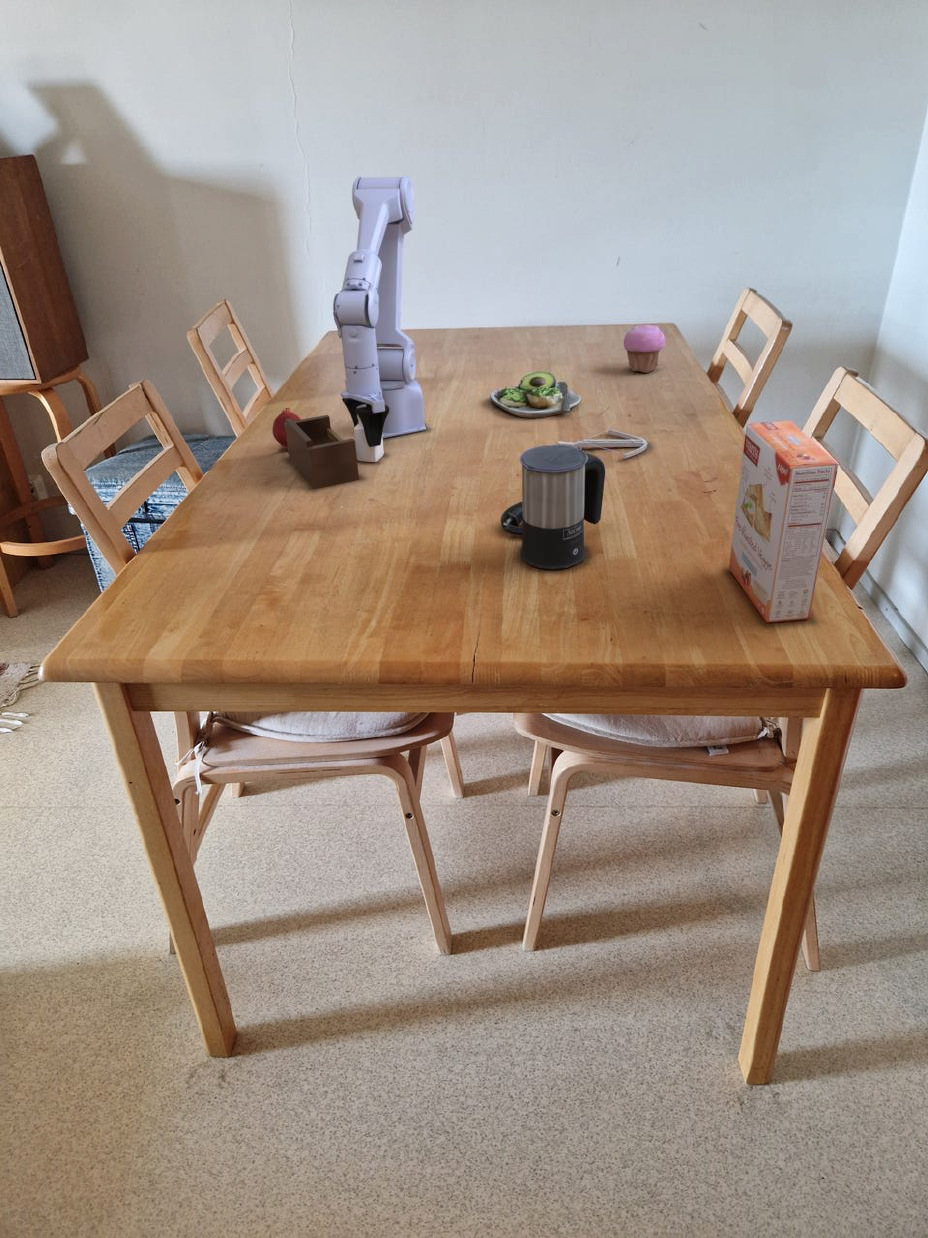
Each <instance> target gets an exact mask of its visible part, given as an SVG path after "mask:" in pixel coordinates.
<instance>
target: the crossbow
mask: <svg viewBox="0 0 928 1238" xmlns="http://www.w3.org/2000/svg"><path fill="white" fill-rule="evenodd" d="M605 432H607V434H609V435H612V436H616V437H621V438H624V439H593V437H597V436H599V435H601V434H604V433H605ZM557 445H565V446H570V447H575V448H578V449H580V450H584V448H587V447H588V448H594V447H595V448H596V447H597V448H600V449H604V450H606V451H607V450H608V451H610V452H614V453H617V454H620V455H623V456H622V459H623V460H626V459H628V458H630V457H634V456H636V455H639V454H640V453H642V452H643V451H646V449H647V448H648V442H647V440H646V439H643V438H642V437H639V436H636V435H633V434H629V433H626V432H622V431H617V430H614V429H611V428H609V429H607V430H604V431H603V432H600V433H598V434H595V435H593V436H590V437H589V438H584V439H580V440H576V441H574V442H571V441H561V440H560V441H559V440H557ZM626 447H627V448H636V449H634V450H632V451H630V452H627V453H622V452H618V451H616V450H612V449H609V448H626Z"/></svg>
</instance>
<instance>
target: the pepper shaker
mask: <svg viewBox="0 0 928 1238" xmlns="http://www.w3.org/2000/svg"><path fill="white" fill-rule="evenodd" d="M362 407H366V404H365V405H360V406H358V407H357V408H362ZM357 418H358V423H359V424H357V425H356V426H355V427H354V428H353V432H354V433H353V435H354V440H355V445H356V454H357V461H359V462H367V463H376V462H378V461H379V460H380V459H381V458H383V457H384V454H385V451H384V441H383V440H384V438H382V439H381V445H379V446H374V447H369V446H368V444H367V441H366V437H365V432H364V428H363V425H362V422H361V420H360V418H359V416H358V414H357Z"/></svg>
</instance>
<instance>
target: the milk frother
mask: <svg viewBox="0 0 928 1238" xmlns="http://www.w3.org/2000/svg"><path fill="white" fill-rule="evenodd" d="M519 462H520V464H521V501H519V502H517V503H515V504H513V505H511V506H509V507H508V508H506V509H505V510H504V511H503V512H502V514H501V516H500V525H501V528H502V529H503V530H504V531H505V532H507V533H509V534H510V535H514V536H521V549H520V551H519V552H520V553H519V555H520V558H521V559H522V560H523V562H525V563H526V564H528V565H530V566H532V567H534V568H537V569H544V570H563V569H567V568H568V569H569V568H571V567H574V566H577V565H578V564H580V563H582V561H583V560H584V559H585V558H586V548H585V522H587V523H589V524H592V525H597V524H599V523H600V522H601V519H602V518H601V517H602V508H603V500H604V491H605V481H606V480H605V479H606V467H605V463H604V462H603V461H602V459H601V458H600V457H598V456H596V455H594V454H592V453H589V452H585V450H583V449H581V450H580V449H579V447H578V448H575V447H570V446H565V445H558V444H548V445H539V446H535V447H531V448H529V449H527V450H525V451H523V452H522V453H521V455H519ZM584 521H585V522H584ZM521 524H522V526H520V525H521Z"/></svg>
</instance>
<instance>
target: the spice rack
mask: <svg viewBox="0 0 928 1238" xmlns="http://www.w3.org/2000/svg"><path fill="white" fill-rule="evenodd" d="M285 421H286V422H285V423H284V424H285V431H286V438H287V445H288V448H287V451H288V457H289V461H290V462H291V464H292V465H293V466H294V467H295V468H296V469H297V470H298V471H299V473H300V474H301V475H302V476H303V478H304V479H305V480H306V481H307V482H308V484H309V485H310V486H311V487H312V488H313V489H314V490H316V489H320V488H326V487H330V486H335V485H340V484H344V483H348V482H354V481H357V480H358V481H359V480H360V475H359V474H360V473H359V466H358V465H359V464H358V460H357V454H356V445H355V438H348V439H343V438H342V437H341V436H340V435H339V434H338V433H337V432H336V431H335V430H333V429H332V426H331V418H330V416H329V415H328V414H324V415H318V416H313V417H308V418H301V420H296V421H293V420H292V419H291V418H289V419H285Z"/></svg>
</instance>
